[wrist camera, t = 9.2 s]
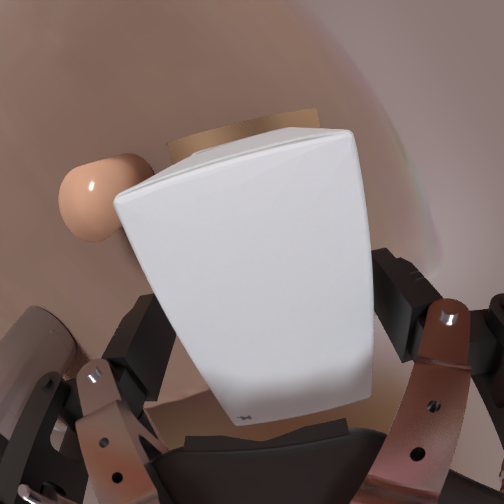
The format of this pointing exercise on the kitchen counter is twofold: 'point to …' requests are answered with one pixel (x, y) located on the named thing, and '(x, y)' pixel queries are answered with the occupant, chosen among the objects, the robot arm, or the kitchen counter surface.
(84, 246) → the kitchen counter surface
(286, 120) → the stand
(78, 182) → the peach rounded knob
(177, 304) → the skincare box
